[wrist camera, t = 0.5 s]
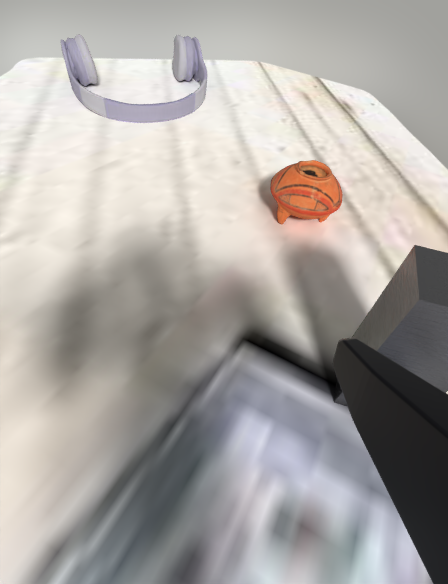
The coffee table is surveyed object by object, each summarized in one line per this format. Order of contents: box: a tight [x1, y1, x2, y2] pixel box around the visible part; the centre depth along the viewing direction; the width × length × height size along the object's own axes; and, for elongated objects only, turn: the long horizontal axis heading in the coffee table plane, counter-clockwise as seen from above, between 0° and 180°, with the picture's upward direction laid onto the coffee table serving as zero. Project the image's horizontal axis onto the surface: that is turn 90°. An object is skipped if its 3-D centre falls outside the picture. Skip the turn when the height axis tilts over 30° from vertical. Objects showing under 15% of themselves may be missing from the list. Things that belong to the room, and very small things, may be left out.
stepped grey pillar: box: [334, 245, 448, 406], centre depth 22 cm, size 5×5×12 cm
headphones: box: [61, 34, 207, 123], centre depth 55 cm, size 22×7×20 cm
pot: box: [271, 160, 342, 224], centre depth 38 cm, size 8×8×7 cm
